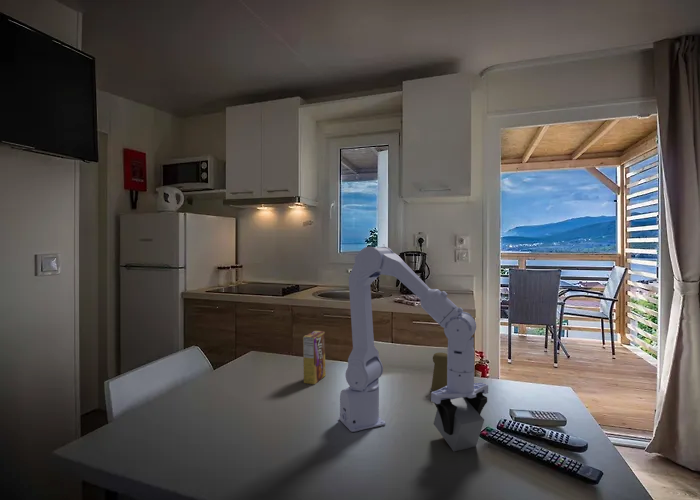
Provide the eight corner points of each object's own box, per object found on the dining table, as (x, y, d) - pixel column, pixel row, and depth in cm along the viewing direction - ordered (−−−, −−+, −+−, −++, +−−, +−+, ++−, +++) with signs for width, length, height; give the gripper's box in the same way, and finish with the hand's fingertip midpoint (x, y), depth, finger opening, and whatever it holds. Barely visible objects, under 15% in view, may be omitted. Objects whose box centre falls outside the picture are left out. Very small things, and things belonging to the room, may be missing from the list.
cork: (428, 390, 117) (429, 354, 117) (434, 383, 122) (434, 349, 122) (448, 393, 114) (448, 357, 114) (453, 387, 120) (453, 352, 119)
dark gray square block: (453, 451, 82) (461, 424, 79) (433, 423, 89) (440, 398, 86) (476, 446, 84) (484, 419, 82) (454, 419, 91) (461, 394, 88)
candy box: (314, 374, 131) (314, 330, 131) (325, 376, 129) (326, 331, 129) (302, 383, 122) (302, 335, 122) (314, 384, 121) (314, 337, 121)
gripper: (446, 379, 78) (445, 445, 78) (498, 369, 84) (498, 431, 84) (425, 368, 84) (425, 430, 84) (475, 360, 90) (475, 418, 90)
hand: (460, 429), depth 84 cm, fingers closed on dark gray square block, 6 cm apart
